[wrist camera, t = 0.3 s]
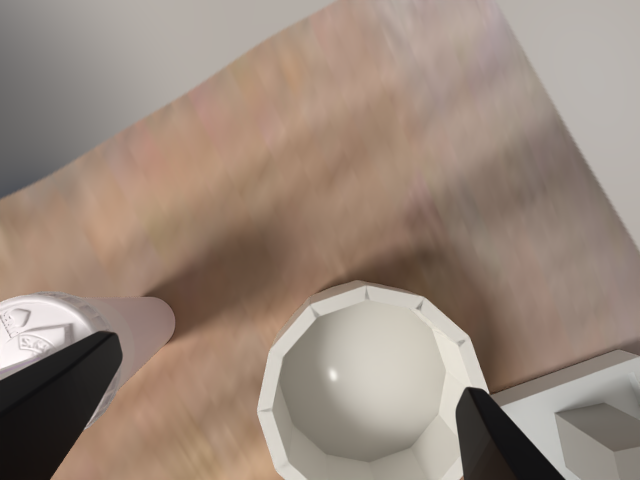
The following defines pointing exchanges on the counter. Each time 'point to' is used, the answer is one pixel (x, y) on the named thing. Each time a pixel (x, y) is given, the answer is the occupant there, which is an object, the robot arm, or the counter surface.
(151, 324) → the smoothie
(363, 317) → the bowl
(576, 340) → the counter surface
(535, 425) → the tray
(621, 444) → the grey block
